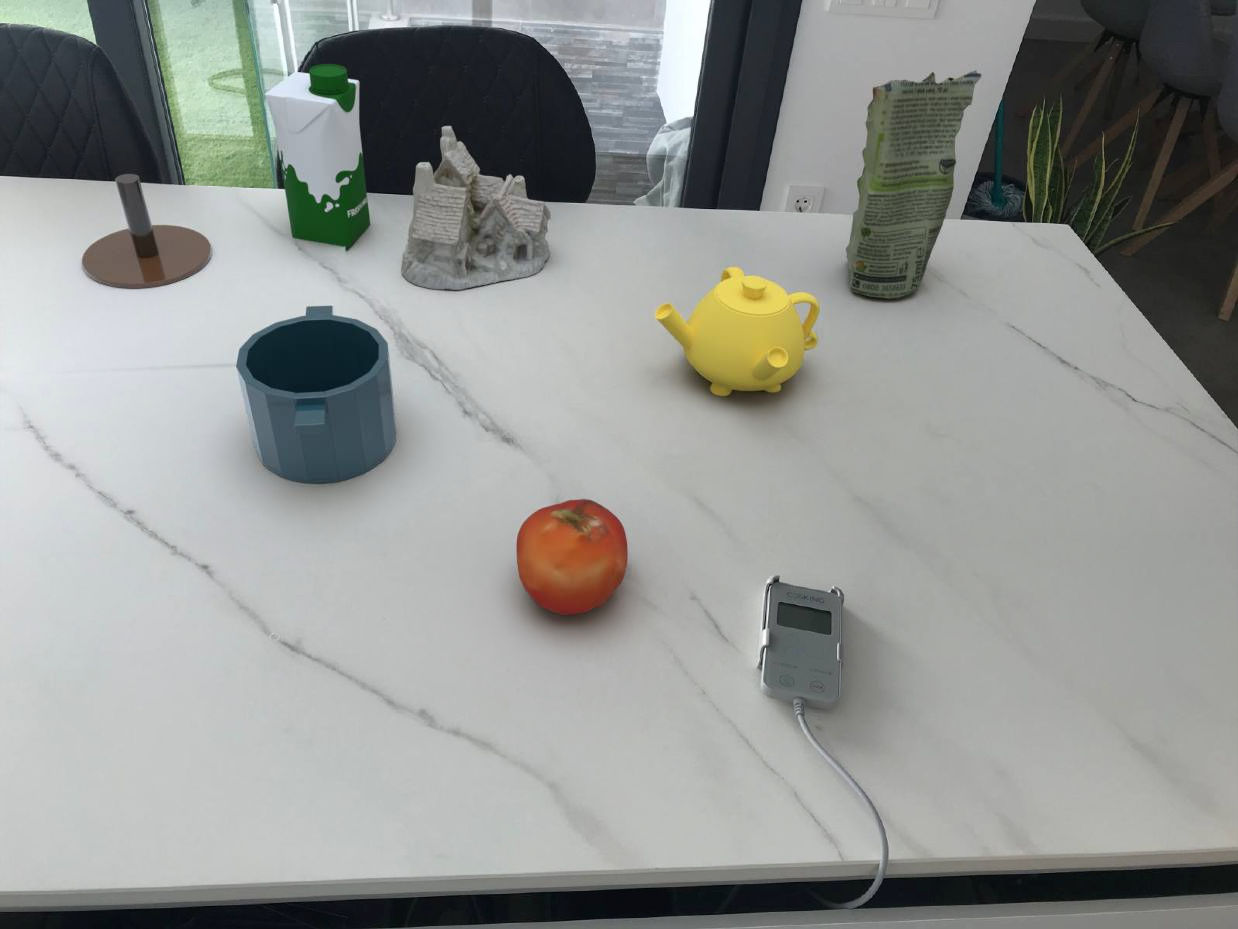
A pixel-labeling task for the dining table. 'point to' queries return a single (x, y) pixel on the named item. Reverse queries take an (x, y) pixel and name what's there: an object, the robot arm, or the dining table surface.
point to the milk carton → (321, 154)
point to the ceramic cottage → (471, 225)
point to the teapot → (744, 333)
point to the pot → (318, 396)
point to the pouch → (905, 181)
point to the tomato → (571, 556)
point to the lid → (144, 247)
